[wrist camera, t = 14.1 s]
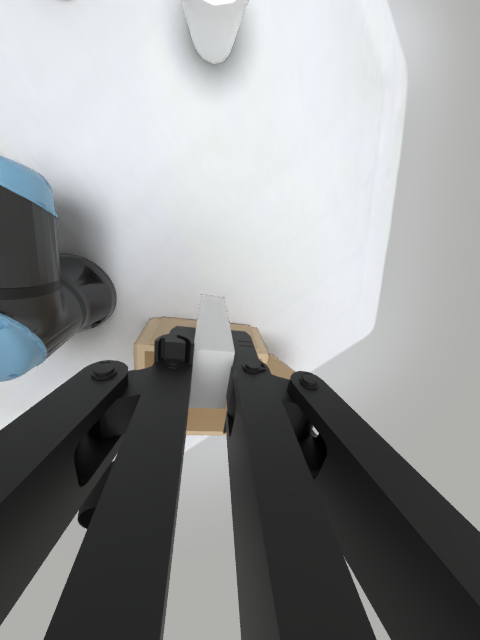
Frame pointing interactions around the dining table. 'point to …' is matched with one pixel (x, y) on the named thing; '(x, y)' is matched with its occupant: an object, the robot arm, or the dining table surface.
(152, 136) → the dining table surface
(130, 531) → the robot arm
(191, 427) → the carton
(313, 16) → the dining table surface
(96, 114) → the dining table surface
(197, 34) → the foam cup
